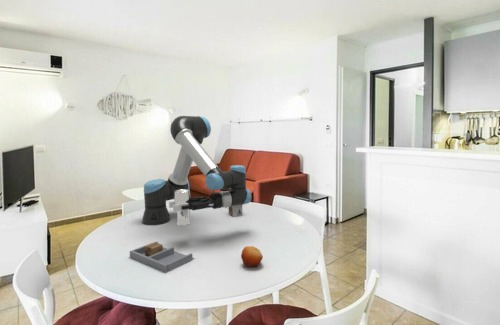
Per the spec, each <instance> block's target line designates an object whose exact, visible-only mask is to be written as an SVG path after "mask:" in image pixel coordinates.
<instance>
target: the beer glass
mask: <svg viewBox="0 0 500 325" xmlns="http://www.w3.org/2000/svg"><path fill="white" fill-rule="evenodd" d="M190 190H191V189H190ZM190 190H188V189H180V190H176V191H175V195H174V199H173V201H175V205H178V204H186V203H189V202H191V198H192V197H191V191H190ZM190 211H191V210H183V211H176V212H175V213H176V225H177V226H181V227H183V226H189V225H190V224H191V218H190Z"/></svg>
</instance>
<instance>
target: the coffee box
mask: <svg viewBox="0 0 500 325" xmlns="http://www.w3.org/2000/svg"><path fill="white" fill-rule="evenodd" d="M228 191H231V188H228ZM228 214H229V215H230V216H231V217H233V218H235V217H243V205H236V206H229V207H228Z"/></svg>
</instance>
